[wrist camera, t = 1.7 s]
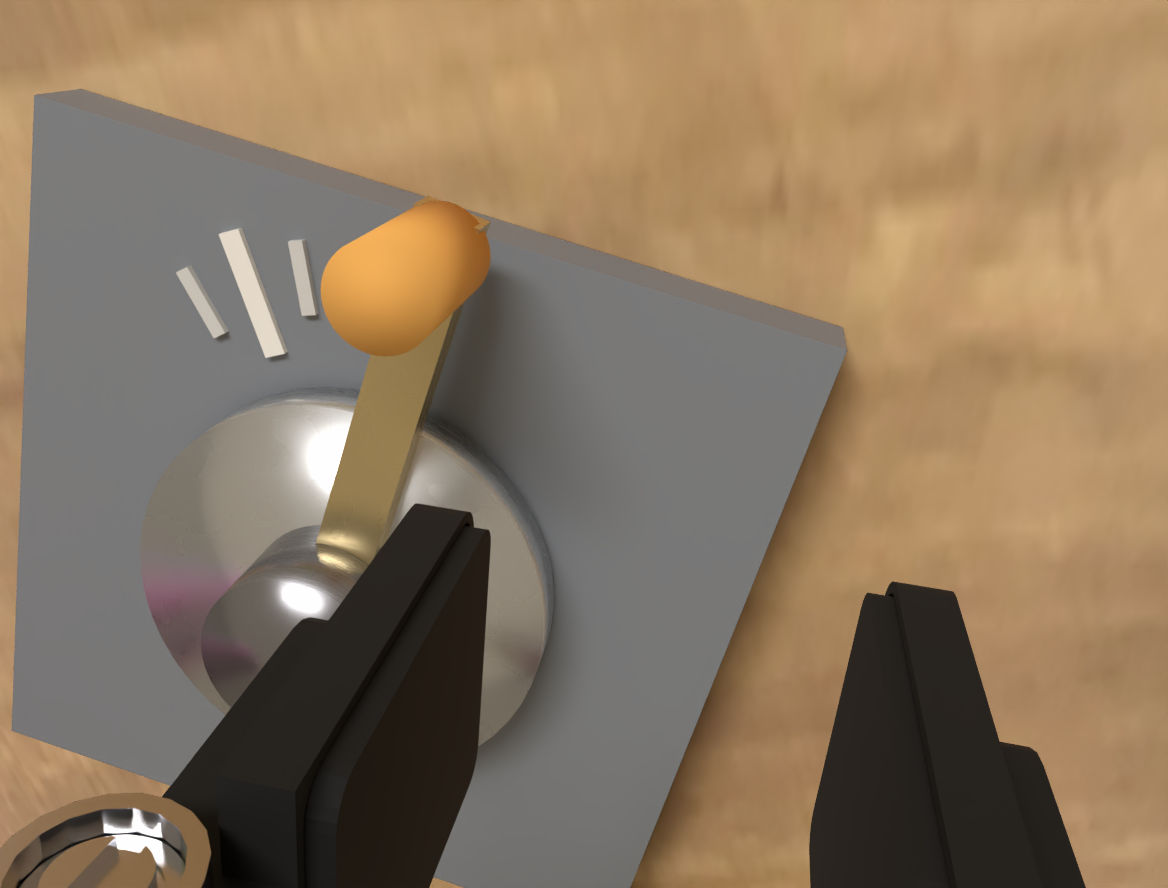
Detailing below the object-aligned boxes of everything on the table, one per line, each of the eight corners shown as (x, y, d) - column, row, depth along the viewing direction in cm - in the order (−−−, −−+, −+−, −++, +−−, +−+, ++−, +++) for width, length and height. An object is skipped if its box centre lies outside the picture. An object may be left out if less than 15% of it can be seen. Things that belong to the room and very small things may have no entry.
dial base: (842, 327, 28) (847, 352, 26) (618, 892, 37) (609, 942, 35) (81, 88, 29) (29, 95, 27) (48, 695, 38) (7, 734, 36)
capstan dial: (482, 795, 33) (421, 956, 28) (138, 651, 33) (9, 783, 28) (703, 282, 26) (681, 360, 20) (255, 98, 26) (108, 125, 20)
